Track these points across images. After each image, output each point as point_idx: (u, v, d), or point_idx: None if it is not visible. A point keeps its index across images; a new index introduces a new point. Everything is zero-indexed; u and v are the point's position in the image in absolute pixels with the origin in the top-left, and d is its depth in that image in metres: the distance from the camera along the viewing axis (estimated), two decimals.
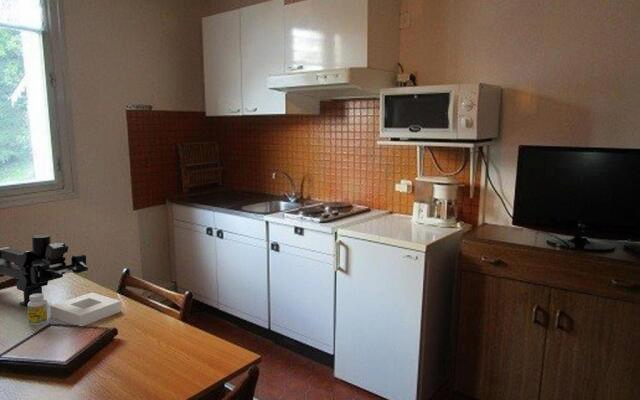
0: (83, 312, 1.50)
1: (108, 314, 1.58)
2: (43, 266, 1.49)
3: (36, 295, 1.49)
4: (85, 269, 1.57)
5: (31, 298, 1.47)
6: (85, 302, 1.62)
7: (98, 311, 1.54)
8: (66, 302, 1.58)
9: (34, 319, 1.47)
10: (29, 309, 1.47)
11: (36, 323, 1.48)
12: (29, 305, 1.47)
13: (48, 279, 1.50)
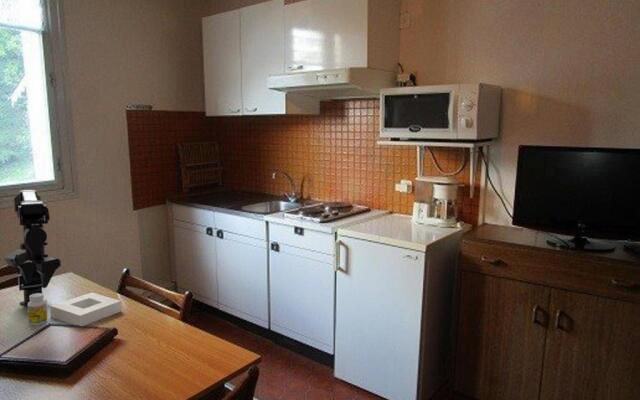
0: (83, 312, 1.50)
1: (108, 314, 1.58)
2: None
3: (36, 295, 1.49)
4: None
5: (31, 298, 1.47)
6: (85, 302, 1.62)
7: (98, 311, 1.54)
8: (66, 302, 1.58)
9: (34, 319, 1.47)
10: (29, 309, 1.47)
11: (36, 323, 1.48)
12: (29, 305, 1.47)
13: None
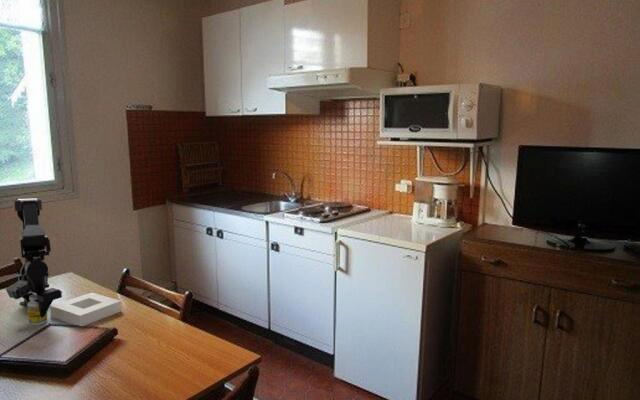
0: (83, 312, 1.50)
1: (108, 314, 1.58)
2: None
3: (36, 295, 1.49)
4: None
5: (31, 298, 1.47)
6: (85, 302, 1.62)
7: (98, 311, 1.54)
8: (66, 302, 1.58)
9: (34, 319, 1.47)
10: (29, 309, 1.47)
11: (36, 323, 1.48)
12: (29, 305, 1.47)
13: None
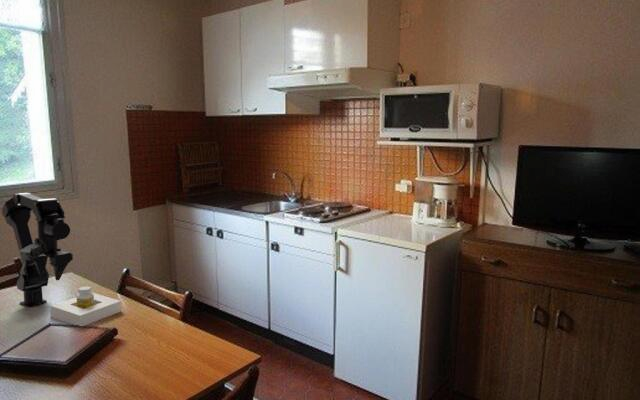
0: (83, 312, 1.50)
1: (108, 314, 1.58)
2: None
3: (85, 288, 1.57)
4: None
5: (80, 291, 1.56)
6: None
7: (98, 311, 1.54)
8: (66, 302, 1.58)
9: None
10: (78, 301, 1.56)
11: None
12: (79, 297, 1.55)
13: None
